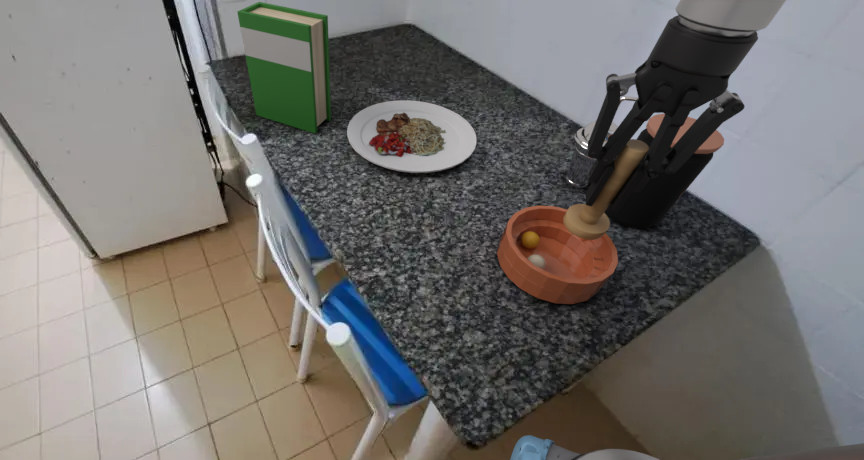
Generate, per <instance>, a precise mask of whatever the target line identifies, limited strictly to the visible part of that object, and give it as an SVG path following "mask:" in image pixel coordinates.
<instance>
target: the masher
mask: <svg viewBox="0 0 864 460" xmlns="http://www.w3.org/2000/svg"><path fill="white" fill-rule="evenodd" d="M636 139H637V138H635V139H634V138H631V139H630V140H629V142H628V143H627V144H626V145H625V147H624V148H623V149H622V150H621V152H620V153H619V154H618V155H617V156H616V158H615V159H614V164H615V170H614V171H613V173H612V175H611V176H610V178H609V179H608V181H607V183H606V184H605V186H604V187H603V189H602V191H601V192H600V194H599V196H598V197H597V199H596V200H595V202H594V204H593V205H592V206H588V205H586V203H576V204H573V205H571V206H569V208H567V212H566V214H565V215H564V217H563V222H564V225H565V227H566V228H567V229H568V230H569V231H570V232H571V233H572V234H574V235H575V236H577V237H580V238H583V239H588V240H595V239H599V238H601V237H602V236H603V235H604V234H605V233H606V234H607V231H608V230H609V229H610V226H611V222H610V218H609V216H608V215H606V214H605V211H606V209H607V208H608V206H609V205H610V204H611V202H612V201H613V199H614V198H615V196H616V195H617V194H618V192H619V191H620V189H621V188H622V187H623V185H624V184H625V182H626V181H627V180H628V178H629V177H630V175H631V174H632V173H633V171H634V170H635V168H636V167H637V166H638V164H639V163H640V161H641V160H642V159H643V157H644V156H645V154H646V153H647V152H648V150H649V147H648V145H647V144H646V143H644V142H642V141H640V140H636Z"/></svg>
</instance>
